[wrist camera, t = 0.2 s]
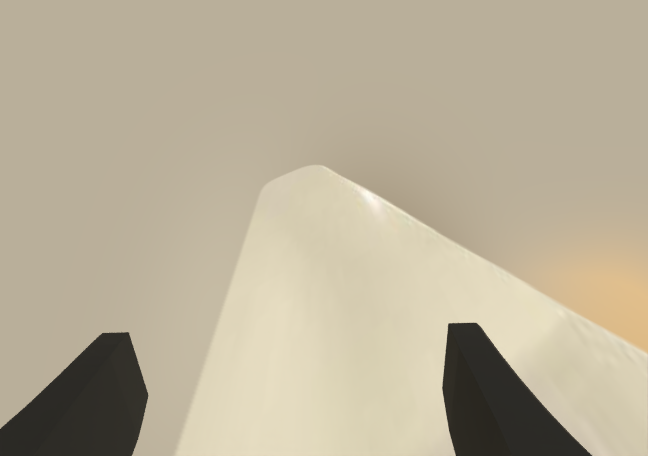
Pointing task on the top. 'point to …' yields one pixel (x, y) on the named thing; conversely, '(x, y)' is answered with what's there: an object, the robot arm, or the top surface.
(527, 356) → the top surface
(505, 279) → the top surface
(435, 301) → the top surface
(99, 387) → the robot arm
